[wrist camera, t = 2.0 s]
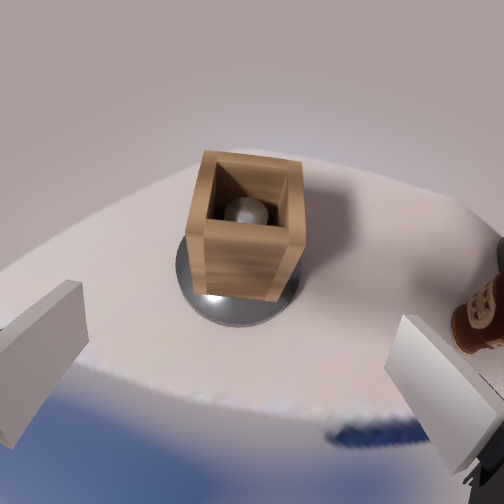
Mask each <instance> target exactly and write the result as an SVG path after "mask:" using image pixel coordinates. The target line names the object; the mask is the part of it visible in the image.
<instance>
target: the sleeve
mask: <svg viewBox="0 0 504 504" xmlns="http://www.w3.org/2000/svg"><path fill="white" fill-rule="evenodd" d="M241 197H249V198H253V199H256V200H258V201H260V202H261V203H262V204H263V205H264V206H265V207H266V209H267V211H268V220H267V224H266V225H259V224H250V223H241V222H232V221H224V218H225V209H226V207H227V205H228V204H229V203H230V202H231V201H233V200H234V199H237V198H241ZM185 234H186V241H187V248H188V255H189V262H190V268H191V275H192V281H193V287H194V293H195V294H203V295H212V296H221V297H230V298H240V299H250V300H261V301H272V302H277V301H278V299H279V297H280V295H281V293H282V291H283V289H284V287H285V285H286V284H287V282H288V280H289V278H290V276H291V274H292V272H293V270H294V268H295V266H296V264H297V262H298V260H299V259H300V257H301V255H302V253H303V251H304V249H305V247H306V224H305V204H304V187H303V172H302V162H298V161H292V160H285V159H278V158H271V157H263V156H255V155H247V154H238V153H229V152H218V151H207V150H205V151H204V154H203V158H202V162H201V166H200V169H199V174H198V178H197V182H196V186H195V190H194V194H193V199H192V203H191V207H190V212H189V216H188V221H187V225H186V230H185Z"/></svg>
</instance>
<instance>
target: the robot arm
mask: <svg viewBox="0 0 504 504" xmlns="http://www.w3.org/2000/svg"><path fill="white" fill-rule="evenodd" d="M498 261H499V267H500V271H501V272H502V271H504V237H503V238H502V239H501V240H500V242H499V245H498ZM88 342H89V338H88V331H87V324H86V316H85V307H84V297H83V286H82V282H77V281H71V280H66V281H64V282H63V283H62V284H60V285H59V286H58V287H56V288H55V289H54V290H52V291H51V292H50V293H48V294H47V295H46V296H44V297H43V298H42V299H40V300H39V301H38V302H36V303H35V304H34V305H33V306H31V307H30V308H29V309H27V310H26V311H25V312H24V313H22V314H21V315H20V316H19V317H17V318H16V319H15V320H14V321H12V322H11V323H10V324H9V325H7V326H6V327H5V328H3V329H1V330H0V443H1V444H3V445H5V446H7V447H9V448H11V449H13V447H14V446H15V444H16V443H17V441H18V440H19V438H20V437H21V435H22V433H23V432H24V430H25V429H26V427H27V426H28V424H29V423H30V421H31V420H32V418H33V417H34V415H35V414H36V413H37V411H38V410H39V408H40V407H41V405H42V404H43V402H44V401H45V400H46V398H47V397H48V395H49V394H50V393H51V391H52V390H53V388H54V387H55V386H56V384H57V383H58V381H59V380H60V379H61V377H62V376H63V374H64V373H65V372H66V371H67V369H68V368H69V367H70V365H71V364H72V363H73V361H74V360H75V359H76V357H77V356H78V355H79V353H80V352H81V351H82V350H83V348H84V347H85V346H86V344H87V343H88ZM384 368H385V370H386V371H387V373H388V374H389V376H390V377H391V379H392V380H393V382H394V383H395V385H396V387H397V388H398V390H399V391H400V393H401V394H402V396H403V397H404V399H405V401H406V402H407V404H408V405H409V407H410V408H411V410H412V412H413V413H414V415H415V416H416V418H417V419H418V421H419V423H420V424H421V426H422V428H423V429H424V431H425V432H426V434H427V436H428V437H429V439H430V441H431V442H432V444H433V445H434V447H435V449H436V450H437V452H438V454H439V455H440V457H441V459H442V461H443V462H444V464H445V466H446V467H447V469H448V471H449V473H450V474H451V475H453V474H456V473H458V472H460V471H463V470H465V469H467V468H468V467H469V465H470V464H471V463H472V462H473V461H474V460H475V458H476V457H477V458H478V460H479V461H480V462H479V464H478V465H477V466H476V467H475V468H474V469H473V470H472V472H471V473H470V474H469V475H468V476H467V477H466V478H465V479H464V481H463V484H466V483H467V481H468V480H469V479H470V478H472V477H473V480H472V481H471V482H470V483H469V486H472V488H471V493H470V499H469V503H468V504H504V399H503V398H502V397H501V396H500V395H499V394H498V393H497V391H496V390H494V388H493V387H492V386H491V385H490V384H488V382H487V381H486V380H485V379H484V378H483V377H482V376H481V375H480V374H478V373H477V372H476V371H475V370H474V369H473V368H472V367H471V366H470V365H469V364H468V363H467V362H466V361H465V360H464V359H463V358H462V357H461V356H460V355H459V354H458V353H457V352H456V351H455V350H454V349H453V348H452V347H451V346H450V345H449V344H448V343H447V342H446V341H445V340H443V339H442V338H441V337H440V336H439V335H438V334H437V333H436V332H435V331H434V330H433V329H432V328H431V327H430V326H429V325H428V324H426V323H425V322H424V321H423V320H422V319H421V318H420V317H419V316H418V315H417V314H403V316H402V319H401V322H400V325H399V328H398V331H397V334H396V337H395V339H394V342H393V345H392V348H391V350H390V353H389V356H388V358H387V361H386V364H385V366H384Z"/></svg>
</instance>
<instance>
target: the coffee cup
mask: <svg viewBox="0 0 504 504" xmlns="http://www.w3.org/2000/svg"><path fill="white" fill-rule="evenodd" d="M451 331H452V338H453V340H454V344H455V347H456V348H457V349H458V350H460V352H461V353H462V354H465V355H472V354H474V353H475V352H477V351H478V350H479V349H482V348H490V349H494V348H496V347H501V346H504V271H502V272H500V273H499V274H498V275H497V276H496V277H495V278H494V279H492V280H491V281H490V282H489V283H487V284H486V285H485V286H484V287H483V288H482V289H481V290H480V291H478V292H477V293H476V294H475V295H474V296H472V297H471V298H470V300H469V301H468V302H467V304H464V305H461V306H460V307H458V308H457V309H456V311H455V312H454V313H453V316H452V321H451Z"/></svg>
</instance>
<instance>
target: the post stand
mask: <svg viewBox="0 0 504 504" xmlns="http://www.w3.org/2000/svg"><path fill="white" fill-rule="evenodd" d="M267 220H268V211H267V209H266V207H265V206H264V205H263V204H262V203H261V202H260V201H258V200H256V199H253V198H249V197H241V198H237V199H234V200H233V201H231V202H230V203H229V204H228V205H227V207H226V209H225V218H224V221H232V222H241V223H250V224H259V225H266V224H267ZM176 274H177V279H178V283H179V286H180V289H181V291H182V294H183V295H184V297H185V299H186V301H187V302H188V303H189V304H190V306H191V307H192V308H193V309H194V310H195V311H196V312H197V313H199V314H200V315H201V316H203V317H204V318H206V319H208V320H210V321H212V322H214V323H217V324H220V325H224V326H228V327H250V326H255V325H258V324H262V323H264V322H266V321H268V320H270V319H272V318H273V317H275V316H276V315H278V314H279V313H280V312H281V311H282V310H283V309H284V308H285V307H286V306H287V304H288V303H289V301H290V300H291V298H292V297H293V295H294V294H295V292H296V289H297V287H298V284H299V281H300V276H301V262H300V259H299V260H298V262H297V264H296V266H295V268H294V270H293V272H292V274H291V276H290V278H289V280H288V282H287V284H286V285H285V287H284V289H283V291H282V293H281V295H280V297H279V299H278V301H277V302H272V301H261V300H250V299H240V298H230V297H221V296H212V295H203V294H195V293H194V287H193V281H192V275H191V268H190V262H189V255H188V248H187V241H186V235H185V236H184V238H183V239H182V241H181V243H180V245H179V248H178V251H177V255H176Z"/></svg>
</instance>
